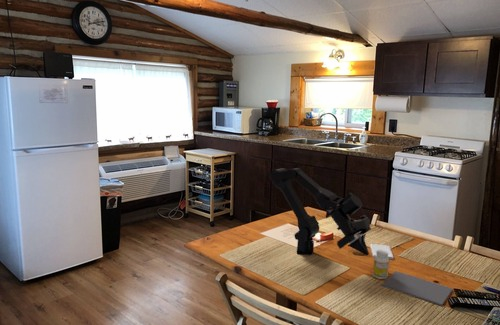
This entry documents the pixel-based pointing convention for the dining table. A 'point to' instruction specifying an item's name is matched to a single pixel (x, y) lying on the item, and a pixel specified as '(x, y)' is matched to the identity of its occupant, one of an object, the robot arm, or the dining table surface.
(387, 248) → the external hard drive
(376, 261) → the supplement bottle
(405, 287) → the mat
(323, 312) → the dining table surface
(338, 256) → the dining table surface
